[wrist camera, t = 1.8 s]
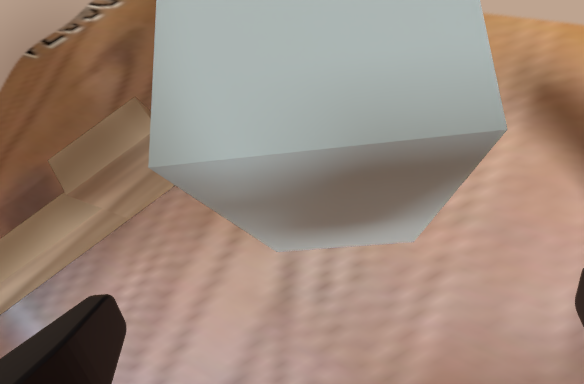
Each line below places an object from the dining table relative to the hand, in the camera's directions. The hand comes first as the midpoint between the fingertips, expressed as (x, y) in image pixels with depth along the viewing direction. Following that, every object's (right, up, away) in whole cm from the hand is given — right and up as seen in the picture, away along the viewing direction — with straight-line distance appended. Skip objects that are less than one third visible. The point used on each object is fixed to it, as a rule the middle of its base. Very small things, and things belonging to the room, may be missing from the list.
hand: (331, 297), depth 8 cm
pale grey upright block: (+2, +2, +13) cm, 13 cm away
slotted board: (-14, -1, +14) cm, 20 cm away
